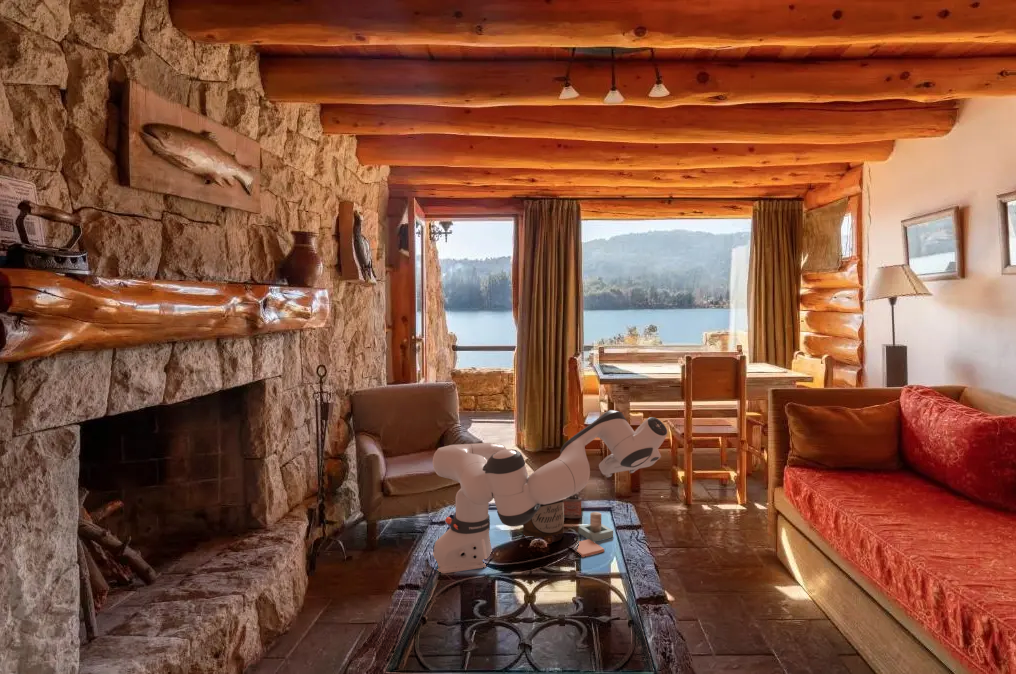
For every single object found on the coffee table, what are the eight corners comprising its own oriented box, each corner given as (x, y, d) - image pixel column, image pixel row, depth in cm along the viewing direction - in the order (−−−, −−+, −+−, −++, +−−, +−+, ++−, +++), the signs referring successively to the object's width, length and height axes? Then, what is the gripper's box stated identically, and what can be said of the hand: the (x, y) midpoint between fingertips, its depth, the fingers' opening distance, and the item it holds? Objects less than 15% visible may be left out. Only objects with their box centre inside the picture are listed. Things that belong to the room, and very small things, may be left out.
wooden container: (537, 548, 213) (537, 487, 211) (515, 533, 226) (515, 475, 223) (571, 538, 220) (572, 479, 218) (548, 524, 233) (548, 468, 231)
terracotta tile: (582, 557, 206) (582, 554, 206) (568, 547, 214) (568, 544, 213) (604, 551, 210) (604, 548, 210) (589, 541, 218) (589, 539, 218)
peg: (594, 538, 221) (594, 517, 220) (588, 534, 224) (588, 513, 223) (603, 536, 223) (603, 514, 222) (596, 532, 226) (597, 511, 225)
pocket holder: (592, 542, 217) (593, 535, 217) (578, 533, 225) (578, 526, 225) (613, 537, 222) (613, 530, 221) (598, 528, 229) (598, 521, 229)
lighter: (581, 515, 242) (581, 490, 241) (581, 518, 239) (581, 493, 238) (561, 514, 243) (561, 490, 242) (561, 517, 240) (561, 493, 239)
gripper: (613, 465, 191) (596, 486, 201) (665, 456, 200) (647, 477, 210) (605, 448, 195) (589, 469, 205) (656, 440, 203) (639, 461, 213)
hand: (618, 473), depth 207 cm, fingers open, 8 cm apart
